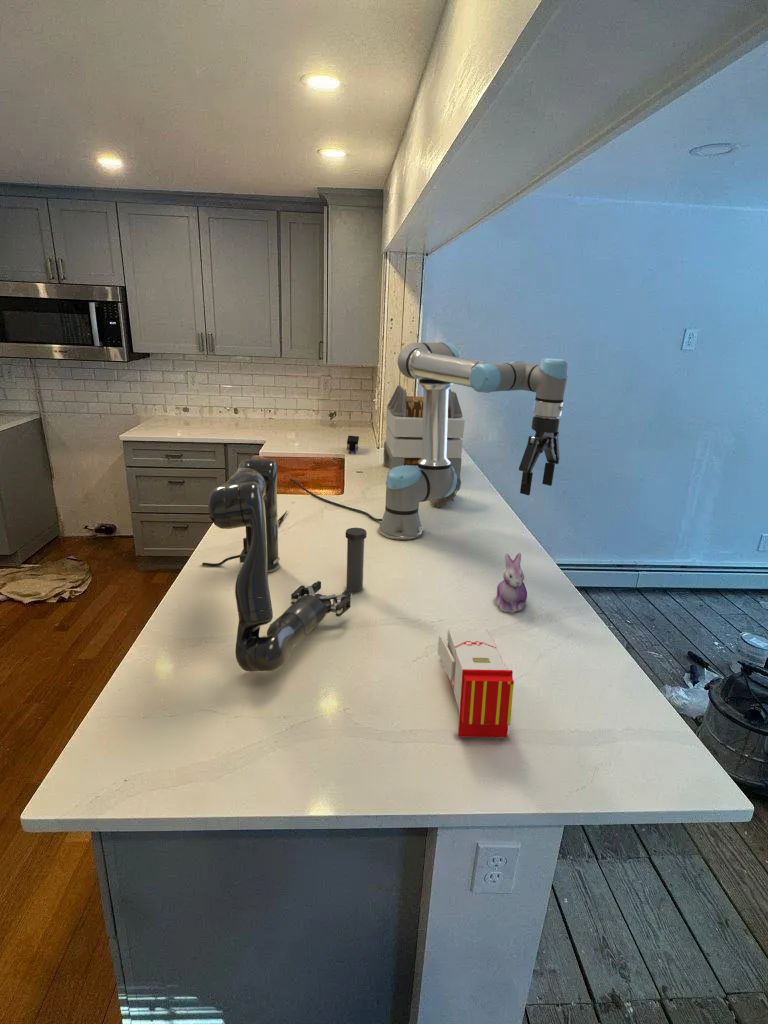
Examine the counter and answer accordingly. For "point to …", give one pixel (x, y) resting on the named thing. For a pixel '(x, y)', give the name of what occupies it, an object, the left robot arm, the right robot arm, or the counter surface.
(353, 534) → the lid
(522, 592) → the figurine
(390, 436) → the white wooden crate
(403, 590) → the counter surface
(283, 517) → the feather
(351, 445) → the figurine character
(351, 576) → the dark grey cylinder
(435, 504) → the fossil
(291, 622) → the left robot arm
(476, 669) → the toy
